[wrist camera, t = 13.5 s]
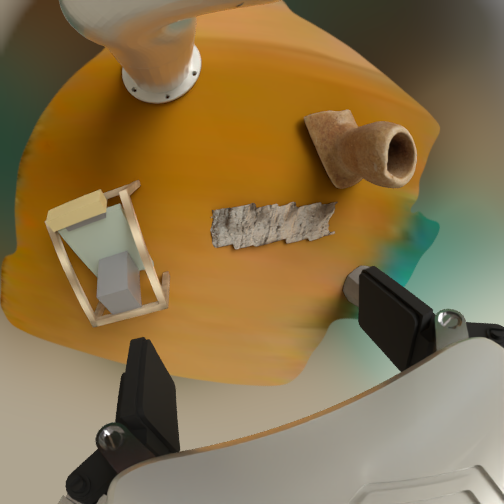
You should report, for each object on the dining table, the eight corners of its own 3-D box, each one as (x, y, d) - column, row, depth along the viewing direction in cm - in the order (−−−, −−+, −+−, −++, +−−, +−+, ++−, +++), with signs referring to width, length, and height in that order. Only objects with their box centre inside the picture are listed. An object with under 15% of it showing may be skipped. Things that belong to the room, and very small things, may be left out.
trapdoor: (44, 207, 28) (40, 224, 26) (108, 180, 29) (107, 197, 28) (101, 277, 43) (101, 292, 41) (153, 261, 44) (155, 277, 42)
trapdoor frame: (71, 204, 39) (44, 221, 30) (138, 179, 41) (126, 189, 31) (106, 294, 46) (93, 327, 37) (170, 276, 48) (168, 307, 38)
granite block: (98, 259, 38) (96, 297, 33) (127, 250, 38) (127, 288, 34) (112, 278, 42) (112, 314, 37) (139, 270, 42) (141, 307, 38)
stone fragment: (204, 209, 46) (217, 262, 50) (205, 213, 44) (218, 269, 48) (338, 180, 50) (342, 230, 54) (346, 183, 47) (350, 234, 51)
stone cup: (376, 168, 50) (430, 181, 36) (330, 194, 49) (379, 214, 36) (350, 97, 43) (404, 88, 30) (297, 118, 43) (344, 110, 29)
